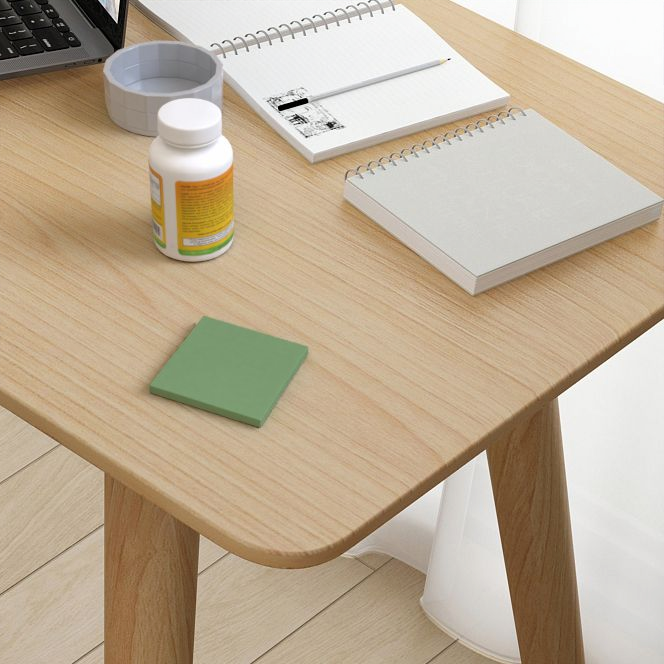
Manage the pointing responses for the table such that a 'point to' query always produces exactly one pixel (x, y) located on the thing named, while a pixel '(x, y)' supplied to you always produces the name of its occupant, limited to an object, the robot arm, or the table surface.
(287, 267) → the table surface
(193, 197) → the supplement bottle
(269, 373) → the green flat square slab
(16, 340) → the table surface
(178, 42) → the bowl
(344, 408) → the table surface
